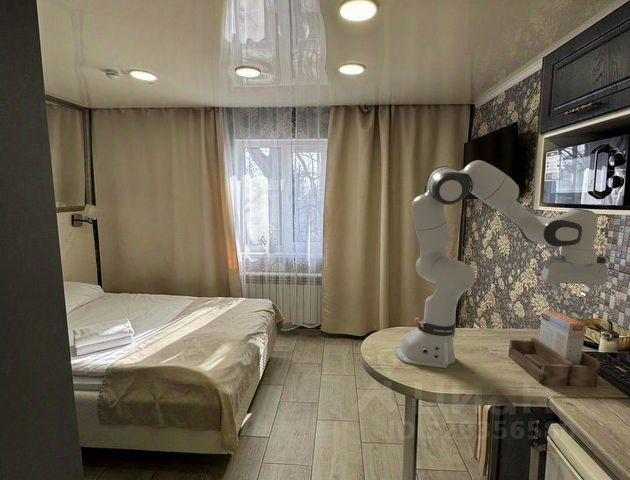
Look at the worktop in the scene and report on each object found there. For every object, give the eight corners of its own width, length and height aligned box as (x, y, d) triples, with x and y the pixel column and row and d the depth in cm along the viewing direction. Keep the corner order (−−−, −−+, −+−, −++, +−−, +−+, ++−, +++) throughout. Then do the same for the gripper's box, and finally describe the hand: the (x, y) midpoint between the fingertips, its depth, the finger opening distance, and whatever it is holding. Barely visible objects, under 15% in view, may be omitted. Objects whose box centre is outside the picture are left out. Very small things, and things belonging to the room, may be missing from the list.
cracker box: (578, 382, 117) (587, 324, 115) (561, 382, 117) (569, 323, 114) (550, 362, 131) (557, 310, 128) (534, 362, 131) (541, 309, 128)
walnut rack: (541, 388, 113) (545, 359, 112) (507, 359, 133) (510, 334, 131) (595, 390, 113) (600, 361, 112) (554, 361, 133) (557, 336, 131)
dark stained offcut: (538, 370, 118) (539, 364, 118) (523, 359, 126) (524, 354, 126) (550, 370, 119) (551, 365, 118) (534, 359, 127) (535, 354, 126)
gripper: (552, 257, 114) (546, 297, 116) (613, 259, 114) (607, 299, 116) (539, 253, 120) (535, 292, 122) (598, 255, 120) (592, 294, 122)
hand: (571, 295), depth 119 cm, fingers open, 8 cm apart
